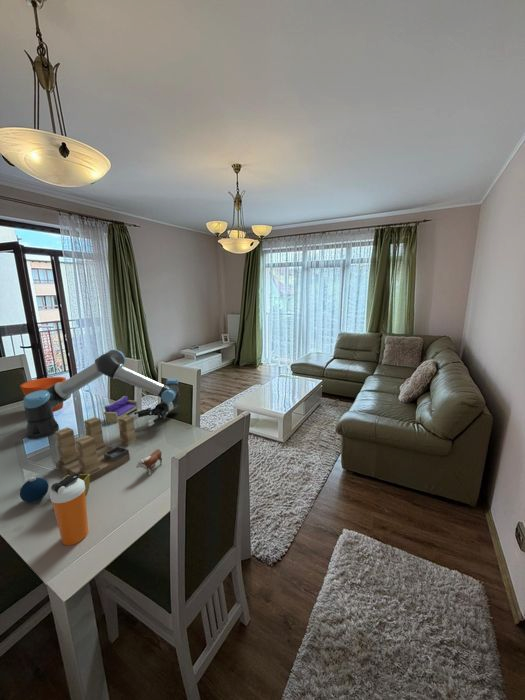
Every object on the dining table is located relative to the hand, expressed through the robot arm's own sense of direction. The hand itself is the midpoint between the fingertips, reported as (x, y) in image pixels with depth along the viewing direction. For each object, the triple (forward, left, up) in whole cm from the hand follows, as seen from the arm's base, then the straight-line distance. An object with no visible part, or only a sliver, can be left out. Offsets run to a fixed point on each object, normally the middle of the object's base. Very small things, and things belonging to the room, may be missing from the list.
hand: (138, 422), depth 153 cm
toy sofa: (-34, +13, -8) cm, 37 cm away
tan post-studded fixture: (+4, -28, -8) cm, 29 cm away
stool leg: (+1, -8, -8) cm, 11 cm away
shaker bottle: (+39, -54, -8) cm, 67 cm away
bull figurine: (+32, -19, -8) cm, 38 cm away
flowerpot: (-90, -5, -8) cm, 90 cm away
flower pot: (+23, -46, -8) cm, 52 cm away
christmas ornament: (+8, -52, -8) cm, 53 cm away
